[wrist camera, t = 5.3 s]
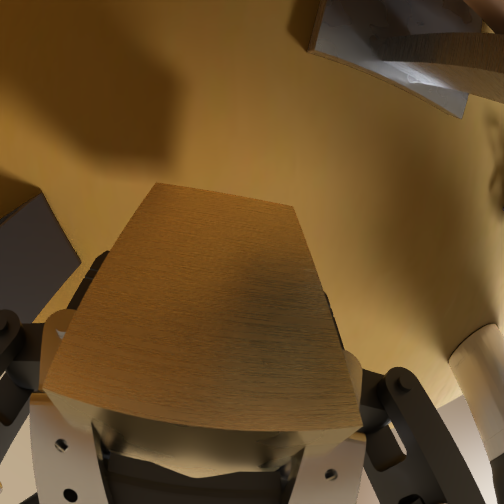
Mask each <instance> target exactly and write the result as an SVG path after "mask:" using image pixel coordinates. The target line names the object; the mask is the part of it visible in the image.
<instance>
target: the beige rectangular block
mask: <svg viewBox="0 0 504 504" xmlns="http://www.w3.org/2000/svg"><path fill="white" fill-rule="evenodd" d="M42 388H43V390H44V391H45V393H46V394H47V396H48V397H49V398H50V400H51V401H52V402H53V404H54V405H55V406H56V408H57V409H58V410H60V411H63V412H66V413H69V414H72V415H75V416H78V417H81V418H84V419H87V420H90V421H91V422H92V423H93V425H94V426H95V428H96V429H97V431H98V432H99V433H100V435H101V437H100V439H101V440H102V441H103V443H104V444H105V445H106V447H107V448H108V449H109V451H110V452H111V453H115V454H119V455H123V456H127V457H131V458H135V459H140V460H145V461H150V462H153V463H155V464H158V465H160V466H163V467H165V468H168V469H170V470H173V471H175V472H178V473H181V474H184V475H186V476H189V477H193V478H203V477H210V476H216V475H223V474H228V473H234V472H239V471H243V472H270V471H276V470H277V469H278V468H280V467H281V466H283V465H284V464H286V463H287V462H288V461H290V460H291V458H290V457H292V456H293V455H294V454H296V453H297V452H298V451H300V450H301V449H302V448H303V447H305V446H309V445H322V444H333V443H341V442H343V441H344V440H345V439H347V438H348V437H349V436H351V435H352V434H353V433H355V432H356V431H357V430H359V429H360V428H361V427H362V426H363V423H362V419H361V416H360V412H359V408H358V404H357V400H356V397H355V393H354V389H353V386H352V382H351V379H350V375H349V372H348V368H347V365H346V361H345V358H344V354H343V351H342V348H341V344H340V341H339V338H338V335H337V331H336V328H335V325H334V322H333V319H332V316H331V313H330V309H329V306H328V303H327V300H326V297H325V294H324V291H323V288H322V285H321V282H320V279H319V277H318V274H317V271H316V268H315V265H314V262H313V259H312V256H311V254H310V251H309V248H308V245H307V243H306V240H305V237H304V234H303V232H302V229H301V226H300V224H299V221H298V218H297V216H296V213H295V210H294V208H293V206H288V205H283V204H278V203H273V202H268V201H263V200H258V199H253V198H247V197H242V196H236V195H231V194H225V193H219V192H214V191H208V190H202V189H195V188H189V187H183V186H176V185H170V184H163V183H155V185H154V186H153V187H152V189H151V190H150V192H149V193H148V194H147V196H146V197H145V199H144V200H143V201H142V203H141V204H140V206H139V207H138V209H137V210H136V212H135V213H134V214H133V216H132V217H131V219H130V220H129V222H128V223H127V225H126V227H125V228H124V230H123V231H122V233H121V234H120V236H119V237H118V239H117V241H116V242H115V244H114V245H113V247H112V249H111V250H110V252H109V253H108V255H107V257H106V258H105V260H104V262H103V263H102V265H101V267H100V269H99V270H98V272H97V274H96V275H95V277H94V279H93V281H92V283H91V284H90V286H89V288H88V290H87V292H86V293H85V295H84V297H83V299H82V301H81V303H80V305H79V307H78V309H77V311H76V313H75V314H74V316H73V318H72V320H71V322H70V325H69V327H68V329H67V331H66V333H65V335H64V337H63V339H62V341H61V344H60V346H59V348H58V350H57V352H56V355H55V357H54V359H53V362H52V364H51V366H50V369H49V371H48V374H47V376H46V379H45V381H44V384H43V386H42Z"/></svg>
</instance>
